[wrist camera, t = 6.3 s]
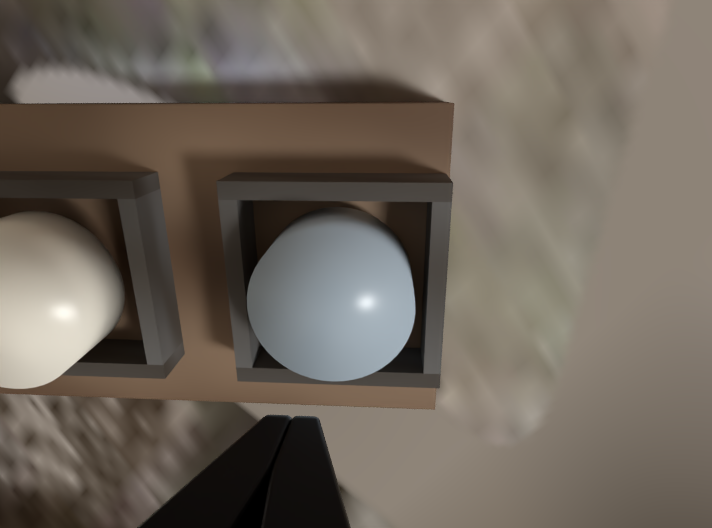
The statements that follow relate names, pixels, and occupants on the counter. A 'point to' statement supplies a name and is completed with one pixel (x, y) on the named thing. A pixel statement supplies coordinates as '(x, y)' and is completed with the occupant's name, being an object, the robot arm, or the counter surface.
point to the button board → (231, 231)
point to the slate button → (333, 295)
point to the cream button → (52, 296)
